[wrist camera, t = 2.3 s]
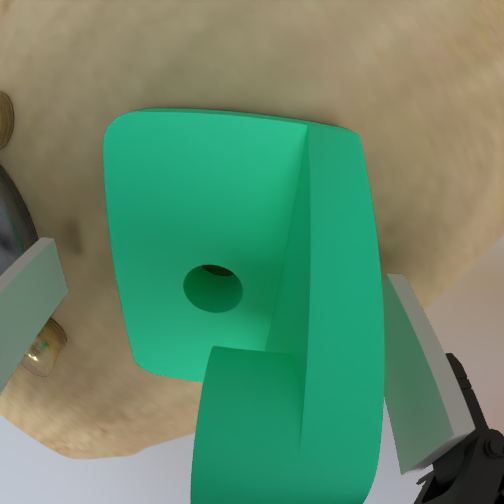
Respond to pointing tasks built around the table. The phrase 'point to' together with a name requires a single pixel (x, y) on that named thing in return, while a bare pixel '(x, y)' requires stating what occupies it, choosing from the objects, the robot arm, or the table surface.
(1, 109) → the plate
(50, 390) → the table surface
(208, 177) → the camera mount
